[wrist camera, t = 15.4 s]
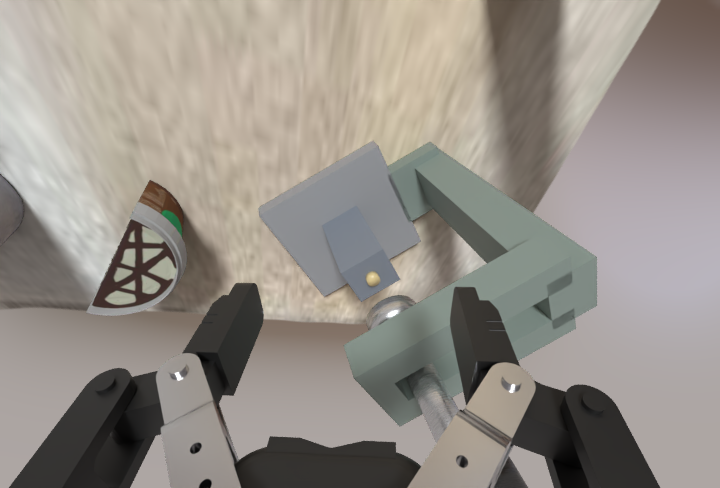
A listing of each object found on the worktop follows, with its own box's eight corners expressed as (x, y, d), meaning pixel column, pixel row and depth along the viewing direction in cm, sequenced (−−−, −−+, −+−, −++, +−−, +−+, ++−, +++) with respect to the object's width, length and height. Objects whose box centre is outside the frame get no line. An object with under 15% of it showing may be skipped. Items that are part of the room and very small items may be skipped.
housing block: (356, 205, 43) (385, 253, 35) (372, 233, 46) (402, 283, 38) (322, 225, 44) (342, 278, 35) (340, 252, 47) (363, 306, 38)
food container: (170, 273, 44) (155, 332, 36) (114, 256, 40) (83, 317, 32) (213, 194, 40) (207, 240, 32) (155, 168, 36) (132, 212, 28)
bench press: (423, 110, 41) (596, 203, 21) (456, 210, 51) (597, 337, 31) (258, 207, 42) (277, 385, 22) (321, 287, 52) (374, 461, 32)
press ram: (406, 286, 31) (526, 481, 18) (423, 317, 34) (536, 503, 21) (357, 314, 31) (442, 527, 18) (378, 342, 34) (464, 542, 21)
